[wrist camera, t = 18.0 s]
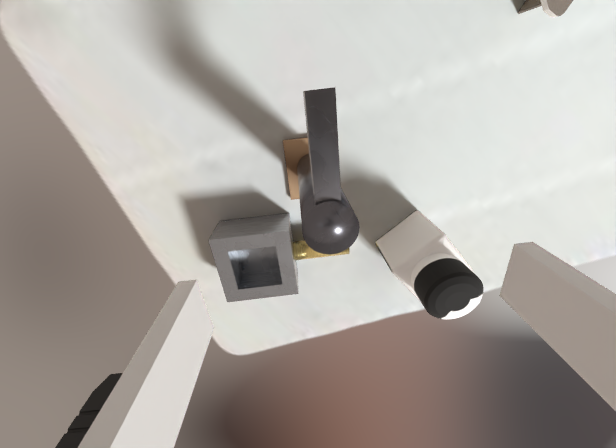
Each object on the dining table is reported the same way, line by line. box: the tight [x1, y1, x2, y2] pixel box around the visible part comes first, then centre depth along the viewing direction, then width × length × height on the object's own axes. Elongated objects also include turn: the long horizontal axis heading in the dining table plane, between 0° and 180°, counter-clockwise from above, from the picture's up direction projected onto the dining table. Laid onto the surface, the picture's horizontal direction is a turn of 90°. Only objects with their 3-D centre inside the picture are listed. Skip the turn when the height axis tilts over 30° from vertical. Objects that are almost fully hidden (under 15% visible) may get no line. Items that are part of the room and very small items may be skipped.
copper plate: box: [283, 137, 309, 200], centre depth 32 cm, size 7×6×1 cm
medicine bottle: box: [376, 211, 483, 319], centre depth 32 cm, size 7×7×12 cm
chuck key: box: [297, 88, 359, 254], centre depth 23 cm, size 10×4×16 cm, turn 6°
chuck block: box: [209, 213, 349, 302], centre depth 34 cm, size 9×16×5 cm, turn 96°
